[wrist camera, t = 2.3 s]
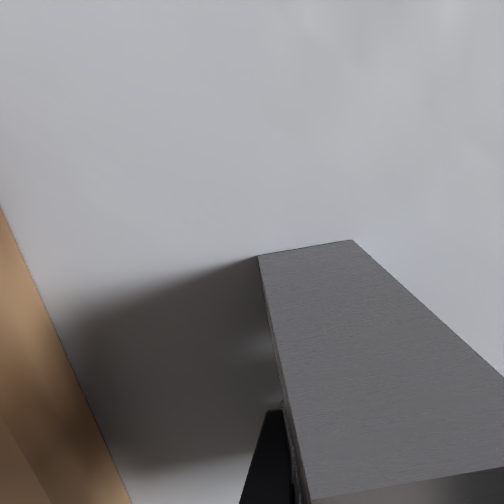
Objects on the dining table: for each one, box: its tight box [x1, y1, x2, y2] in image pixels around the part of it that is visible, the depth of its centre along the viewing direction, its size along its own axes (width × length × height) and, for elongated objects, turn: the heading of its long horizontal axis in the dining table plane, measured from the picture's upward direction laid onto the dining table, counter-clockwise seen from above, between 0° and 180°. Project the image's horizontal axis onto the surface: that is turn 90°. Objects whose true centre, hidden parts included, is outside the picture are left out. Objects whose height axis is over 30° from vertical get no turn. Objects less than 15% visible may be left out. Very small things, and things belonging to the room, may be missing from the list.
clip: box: [258, 240, 504, 504], centre depth 7 cm, size 7×2×6 cm, turn 9°
